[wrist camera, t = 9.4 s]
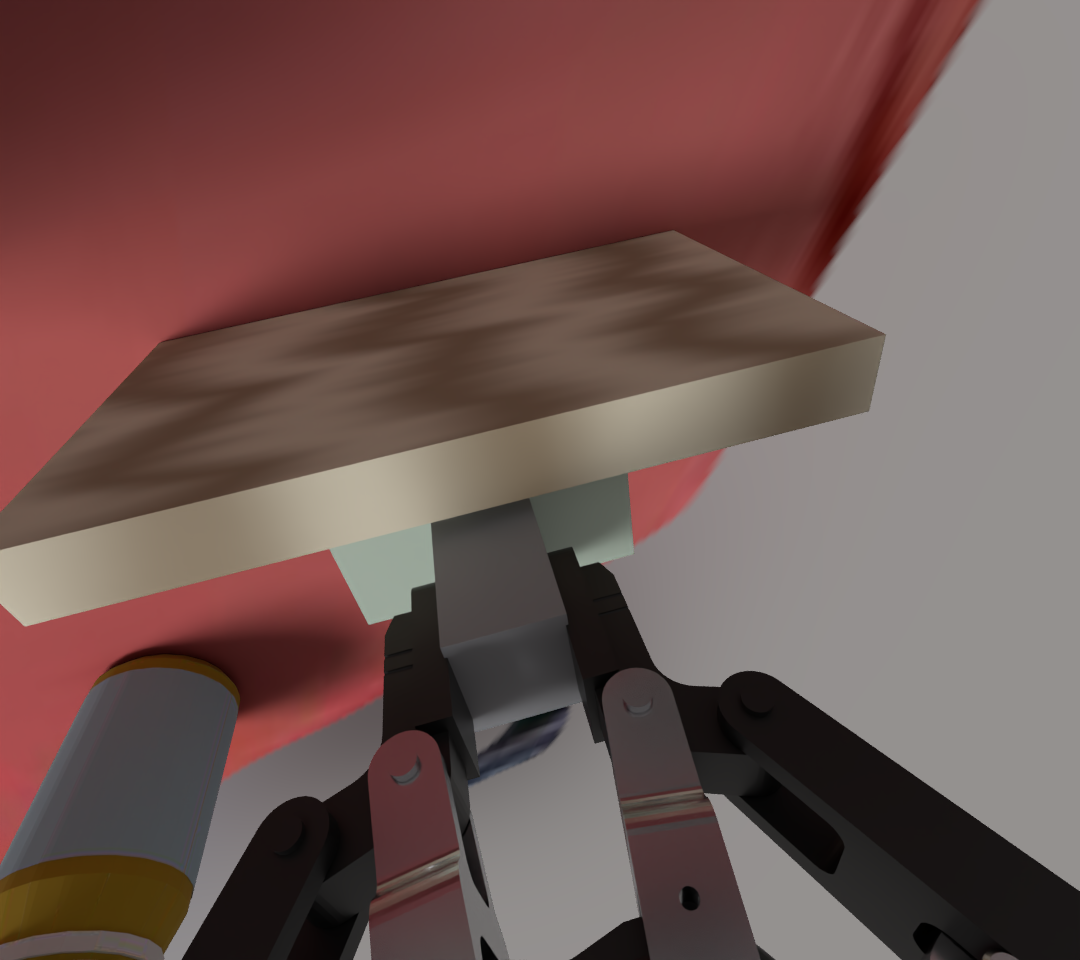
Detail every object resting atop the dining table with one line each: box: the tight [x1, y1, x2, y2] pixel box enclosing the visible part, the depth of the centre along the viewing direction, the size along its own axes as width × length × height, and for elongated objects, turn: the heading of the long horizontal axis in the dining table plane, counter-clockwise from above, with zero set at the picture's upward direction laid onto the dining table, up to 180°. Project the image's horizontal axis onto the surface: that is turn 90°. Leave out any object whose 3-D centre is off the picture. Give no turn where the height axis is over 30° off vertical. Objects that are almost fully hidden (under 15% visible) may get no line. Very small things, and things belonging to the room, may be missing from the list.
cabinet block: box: [330, 473, 634, 732], centre depth 16 cm, size 8×4×10 cm, turn 99°
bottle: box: [0, 654, 240, 960], centre depth 25 cm, size 7×7×15 cm
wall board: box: [0, 230, 886, 626], centre depth 19 cm, size 20×9×12 cm, turn 99°
